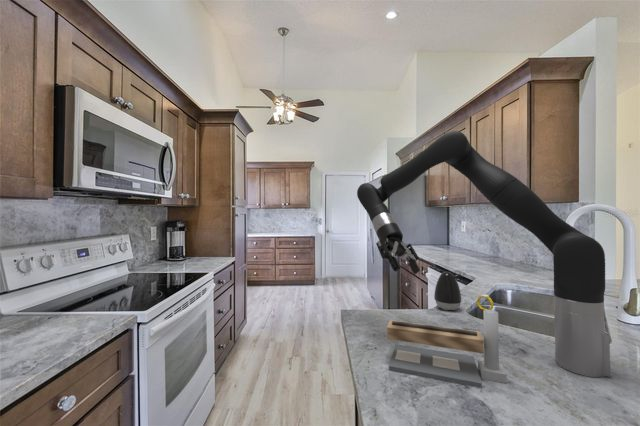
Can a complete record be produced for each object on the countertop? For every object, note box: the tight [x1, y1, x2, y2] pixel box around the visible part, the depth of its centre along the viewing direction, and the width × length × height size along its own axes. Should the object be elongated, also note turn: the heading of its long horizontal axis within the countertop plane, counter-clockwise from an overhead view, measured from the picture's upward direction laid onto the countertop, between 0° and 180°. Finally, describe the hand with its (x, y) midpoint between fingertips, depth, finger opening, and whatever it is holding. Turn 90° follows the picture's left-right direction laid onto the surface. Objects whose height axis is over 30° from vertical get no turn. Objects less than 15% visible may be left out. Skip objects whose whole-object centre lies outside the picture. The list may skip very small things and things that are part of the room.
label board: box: [388, 309, 508, 389], centre depth 70 cm, size 26×13×15 cm, turn 68°
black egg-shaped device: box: [433, 271, 462, 311], centre depth 116 cm, size 10×10×15 cm
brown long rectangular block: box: [386, 319, 484, 355], centre depth 71 cm, size 22×6×4 cm, turn 68°
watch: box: [476, 294, 494, 311], centre depth 114 cm, size 6×3×6 cm, turn 30°
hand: (407, 271), depth 83 cm, fingers open, 8 cm apart
